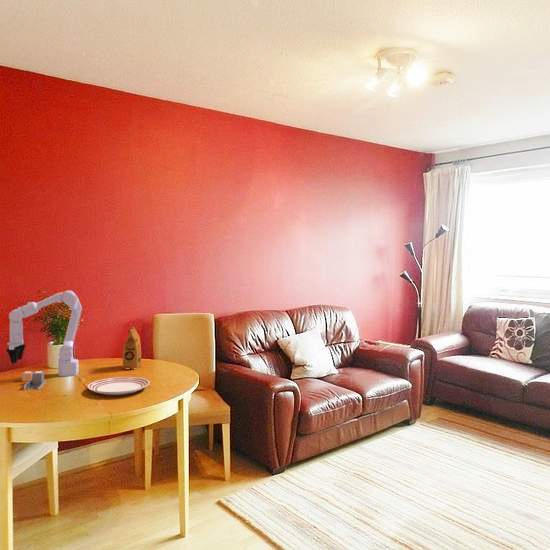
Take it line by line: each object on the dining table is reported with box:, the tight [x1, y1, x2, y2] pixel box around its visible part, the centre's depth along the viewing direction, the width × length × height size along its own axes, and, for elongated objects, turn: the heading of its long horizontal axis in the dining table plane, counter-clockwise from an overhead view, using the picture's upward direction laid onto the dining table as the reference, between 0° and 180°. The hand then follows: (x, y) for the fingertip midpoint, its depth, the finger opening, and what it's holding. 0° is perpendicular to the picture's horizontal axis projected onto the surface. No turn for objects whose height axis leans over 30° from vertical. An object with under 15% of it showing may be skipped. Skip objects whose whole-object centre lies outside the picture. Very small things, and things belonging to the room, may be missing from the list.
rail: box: [23, 379, 47, 391], centre depth 220 cm, size 6×12×3 cm, turn 12°
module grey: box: [32, 370, 45, 384], centre depth 224 cm, size 4×4×5 cm
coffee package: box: [122, 326, 142, 370], centre depth 262 cm, size 10×12×22 cm
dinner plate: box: [87, 376, 150, 396], centre depth 221 cm, size 28×27×3 cm
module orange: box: [21, 370, 34, 382], centre depth 229 cm, size 4×4×5 cm
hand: (16, 361), depth 232 cm, fingers open, 7 cm apart
